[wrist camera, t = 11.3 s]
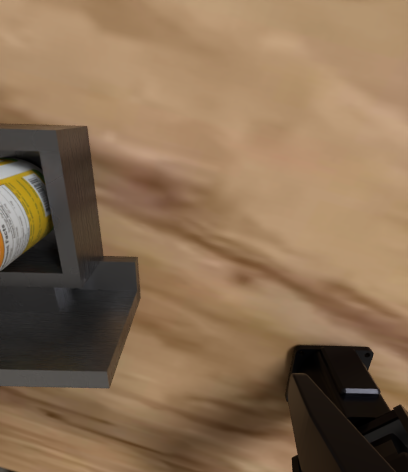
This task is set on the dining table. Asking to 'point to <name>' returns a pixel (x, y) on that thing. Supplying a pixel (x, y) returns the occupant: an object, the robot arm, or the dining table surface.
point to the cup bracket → (63, 275)
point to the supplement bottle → (22, 208)
